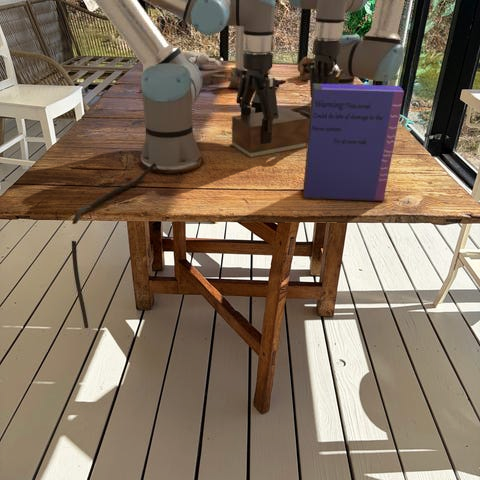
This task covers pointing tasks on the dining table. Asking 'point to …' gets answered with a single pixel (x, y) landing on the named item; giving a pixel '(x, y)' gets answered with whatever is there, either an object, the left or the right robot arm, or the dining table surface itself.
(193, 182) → the dining table surface
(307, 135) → the drawer
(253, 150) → the wooden chest box
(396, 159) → the dining table surface
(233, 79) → the figurine
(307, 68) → the anatomical model
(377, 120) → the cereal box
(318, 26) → the right robot arm
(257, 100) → the figurine character
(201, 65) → the toy
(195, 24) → the left robot arm
